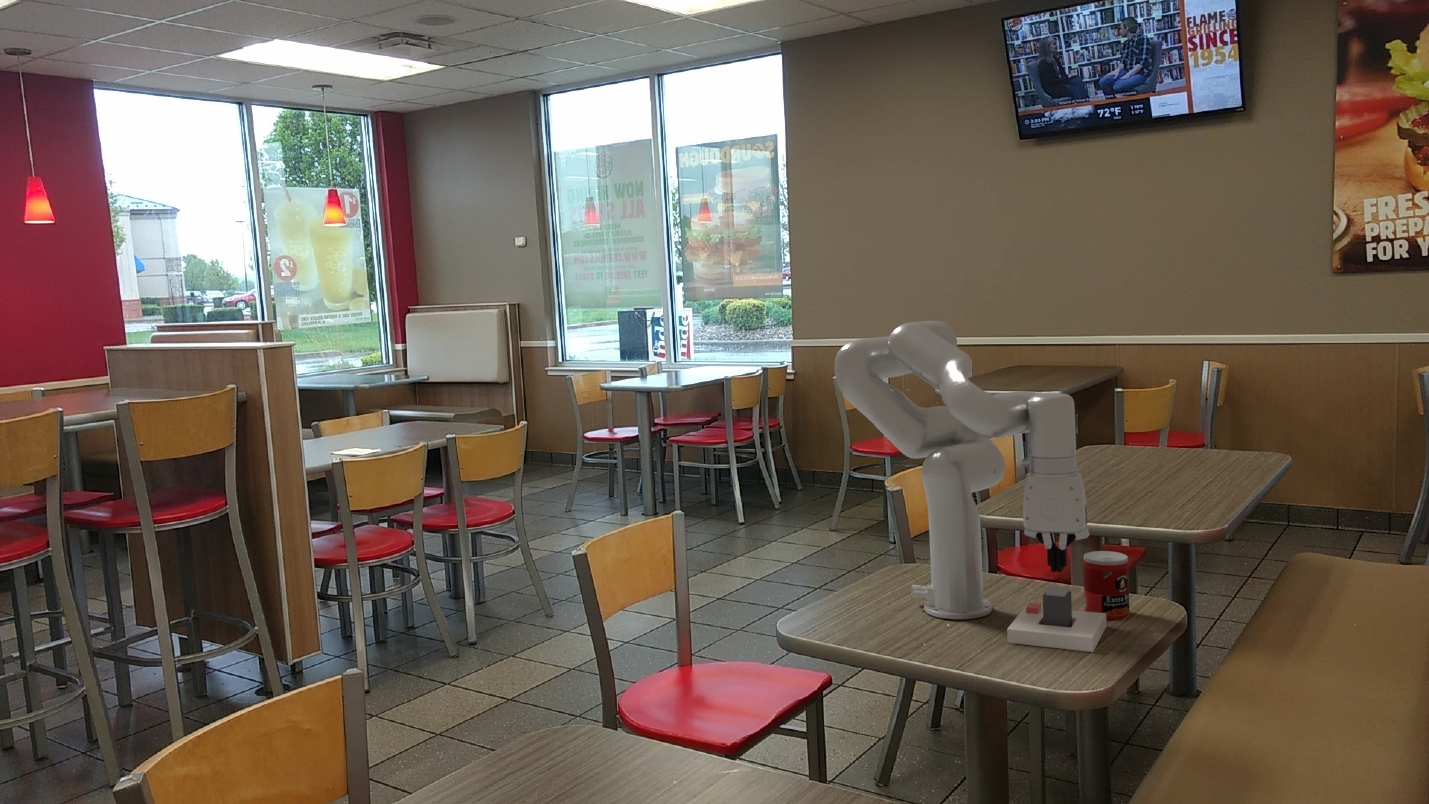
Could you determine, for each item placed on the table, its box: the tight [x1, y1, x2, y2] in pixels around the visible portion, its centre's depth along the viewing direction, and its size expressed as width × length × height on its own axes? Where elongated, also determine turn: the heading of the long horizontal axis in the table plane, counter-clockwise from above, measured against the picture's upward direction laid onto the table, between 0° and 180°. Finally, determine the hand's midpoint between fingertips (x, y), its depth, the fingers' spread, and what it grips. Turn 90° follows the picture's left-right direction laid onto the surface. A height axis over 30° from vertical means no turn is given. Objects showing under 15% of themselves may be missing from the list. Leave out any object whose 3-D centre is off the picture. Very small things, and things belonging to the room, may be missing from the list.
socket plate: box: [1006, 602, 1107, 653], centre depth 181 cm, size 14×14×3 cm
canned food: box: [1082, 550, 1130, 622], centre depth 189 cm, size 8×8×11 cm
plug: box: [1042, 585, 1073, 628], centre depth 180 cm, size 4×4×8 cm
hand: (1057, 570), depth 179 cm, fingers closed
